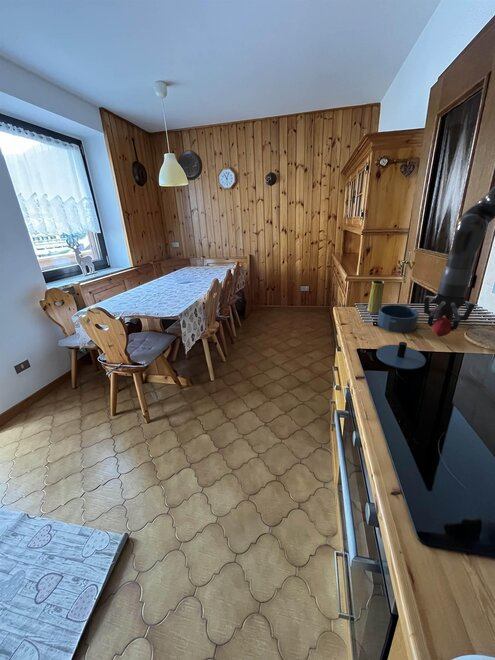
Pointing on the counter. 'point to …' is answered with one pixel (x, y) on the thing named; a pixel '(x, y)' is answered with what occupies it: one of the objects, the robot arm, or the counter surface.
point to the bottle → (444, 312)
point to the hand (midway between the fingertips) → (441, 327)
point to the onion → (441, 326)
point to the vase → (376, 296)
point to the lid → (401, 356)
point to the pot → (397, 318)
